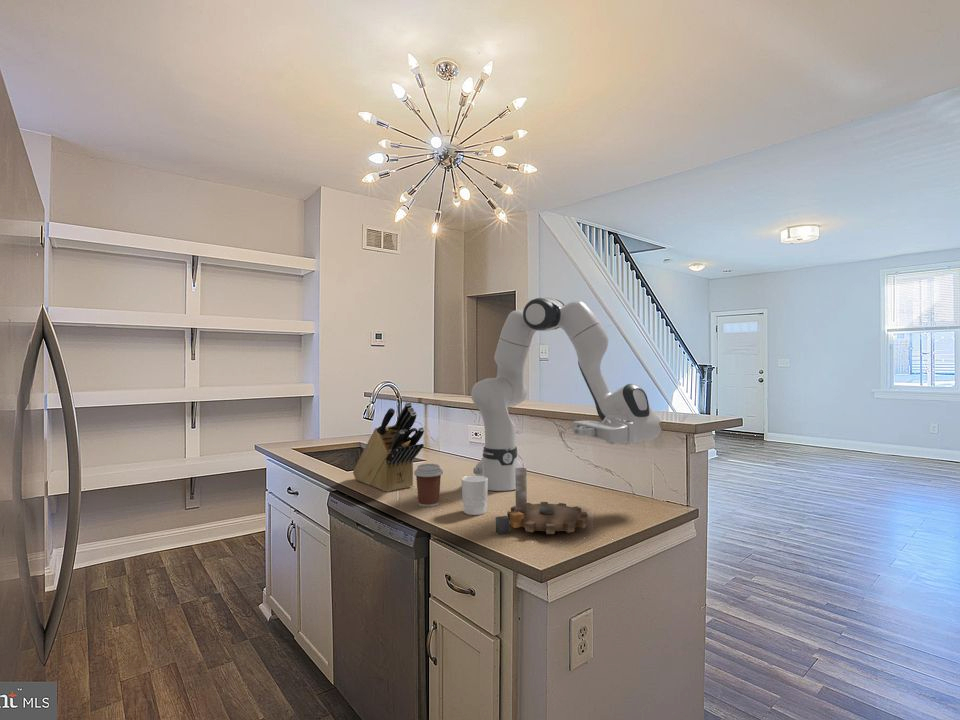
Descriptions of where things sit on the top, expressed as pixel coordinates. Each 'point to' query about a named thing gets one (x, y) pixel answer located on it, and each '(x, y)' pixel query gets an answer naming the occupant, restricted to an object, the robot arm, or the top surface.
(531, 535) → the top surface
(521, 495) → the sprocket
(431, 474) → the coffee cup
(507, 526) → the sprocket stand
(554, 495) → the top surface
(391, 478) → the knife block
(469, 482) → the white cup
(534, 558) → the top surface
